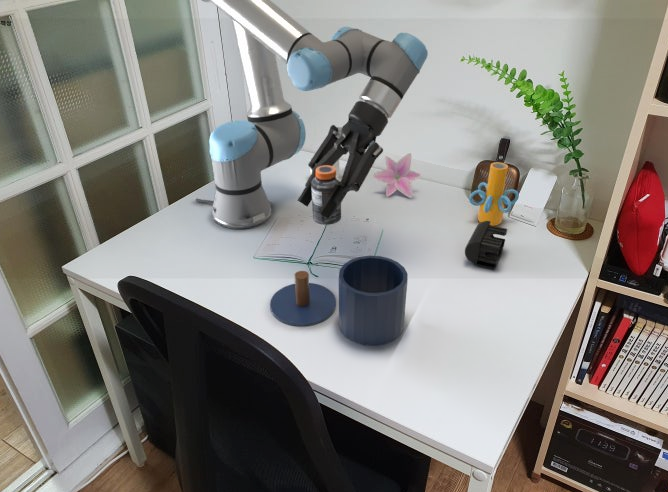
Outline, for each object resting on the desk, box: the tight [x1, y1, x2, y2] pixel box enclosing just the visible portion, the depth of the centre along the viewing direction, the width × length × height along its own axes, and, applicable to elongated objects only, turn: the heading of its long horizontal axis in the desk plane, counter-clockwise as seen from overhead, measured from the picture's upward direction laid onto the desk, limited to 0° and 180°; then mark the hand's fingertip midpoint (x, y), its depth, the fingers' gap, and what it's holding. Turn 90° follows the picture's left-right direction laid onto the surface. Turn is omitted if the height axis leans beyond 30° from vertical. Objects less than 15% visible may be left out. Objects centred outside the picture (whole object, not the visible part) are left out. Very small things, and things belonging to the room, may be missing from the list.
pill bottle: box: [311, 165, 342, 226], centre depth 114 cm, size 6×6×11 cm
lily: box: [372, 152, 422, 199], centre depth 155 cm, size 12×12×10 cm
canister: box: [338, 255, 409, 347], centre depth 107 cm, size 13×13×12 cm
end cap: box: [464, 221, 508, 271], centre depth 128 cm, size 10×7×7 cm
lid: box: [269, 270, 337, 327], centre depth 114 cm, size 14×14×8 cm
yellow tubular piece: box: [468, 161, 520, 227], centre depth 138 cm, size 12×10×15 cm
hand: (312, 209), depth 113 cm, fingers closed on pill bottle, 6 cm apart
